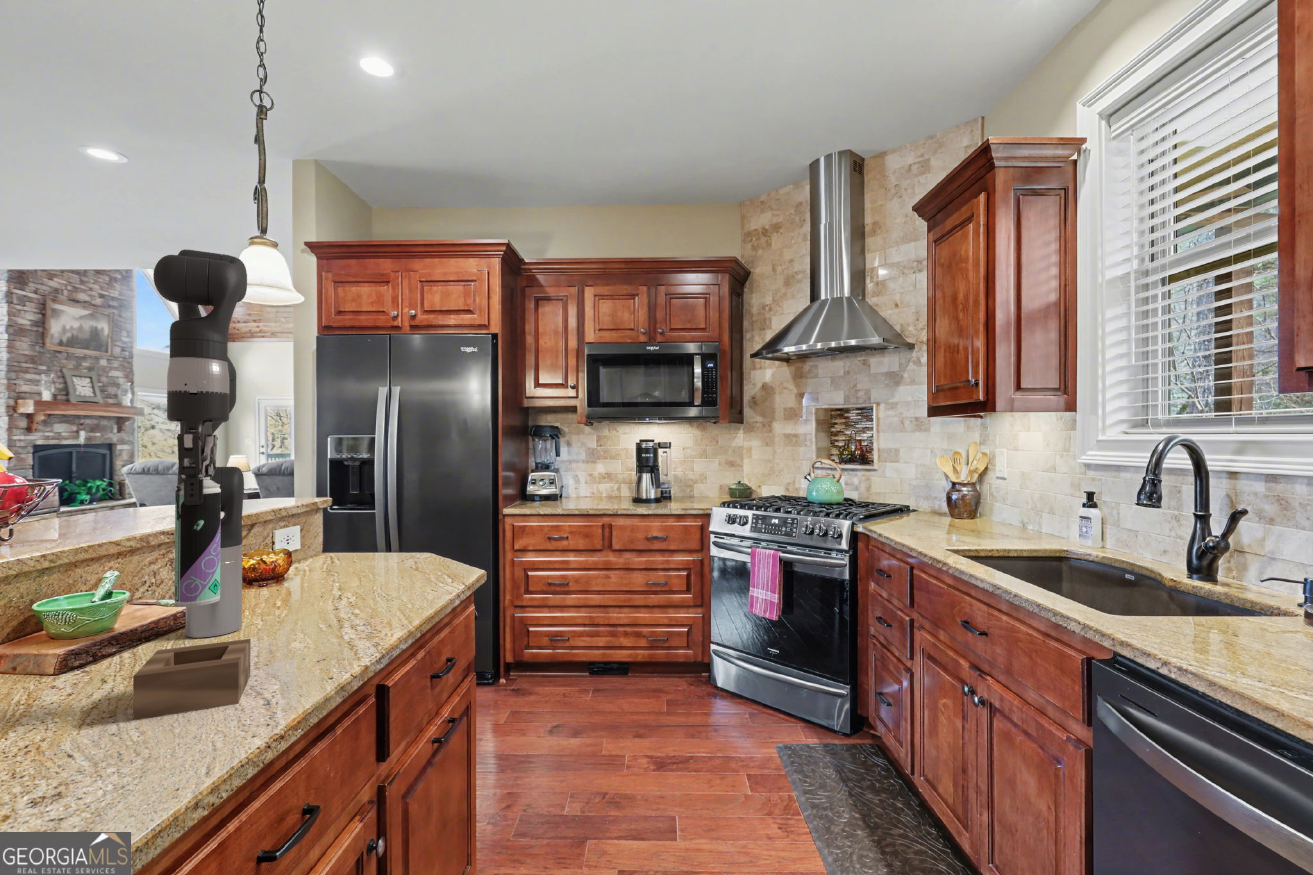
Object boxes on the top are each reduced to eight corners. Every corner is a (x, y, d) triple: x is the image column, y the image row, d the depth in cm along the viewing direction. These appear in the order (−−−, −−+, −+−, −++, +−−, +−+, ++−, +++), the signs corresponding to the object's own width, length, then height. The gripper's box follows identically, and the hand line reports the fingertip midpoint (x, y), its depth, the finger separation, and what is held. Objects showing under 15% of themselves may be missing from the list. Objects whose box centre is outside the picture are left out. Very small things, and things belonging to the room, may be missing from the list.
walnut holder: (157, 689, 94) (157, 649, 94) (250, 675, 100) (250, 638, 100) (132, 720, 84) (133, 675, 84) (238, 703, 89) (238, 661, 89)
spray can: (195, 607, 89) (196, 469, 89) (164, 605, 90) (165, 469, 90) (229, 598, 94) (229, 468, 94) (199, 596, 95) (200, 468, 95)
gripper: (179, 393, 97) (179, 500, 97) (153, 385, 84) (153, 508, 84) (236, 394, 100) (236, 498, 100) (220, 387, 88) (219, 506, 87)
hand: (198, 502), depth 92 cm, fingers closed on spray can, 5 cm apart
